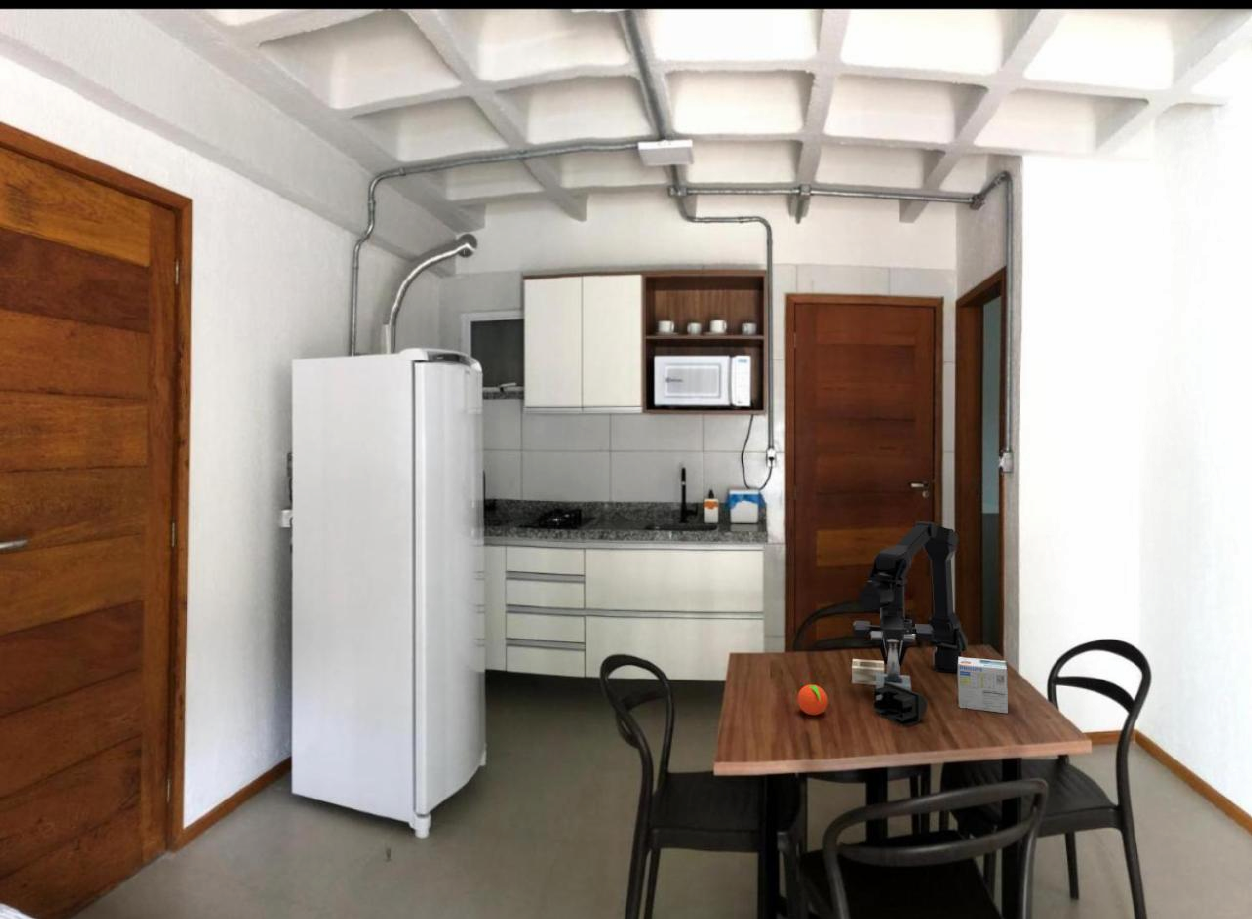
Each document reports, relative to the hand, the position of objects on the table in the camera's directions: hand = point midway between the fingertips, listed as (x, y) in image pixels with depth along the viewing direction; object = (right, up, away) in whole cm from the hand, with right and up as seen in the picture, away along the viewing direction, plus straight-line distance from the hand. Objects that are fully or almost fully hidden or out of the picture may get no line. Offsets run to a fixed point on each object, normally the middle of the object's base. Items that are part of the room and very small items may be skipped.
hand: (893, 664), depth 181 cm
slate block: (0, -8, 0) cm, 8 cm away
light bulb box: (+18, -8, -8) cm, 22 cm away
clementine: (-23, -9, -11) cm, 27 cm away
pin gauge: (0, -4, 0) cm, 4 cm away
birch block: (-2, -7, +13) cm, 15 cm away
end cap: (-3, -9, -13) cm, 16 cm away
